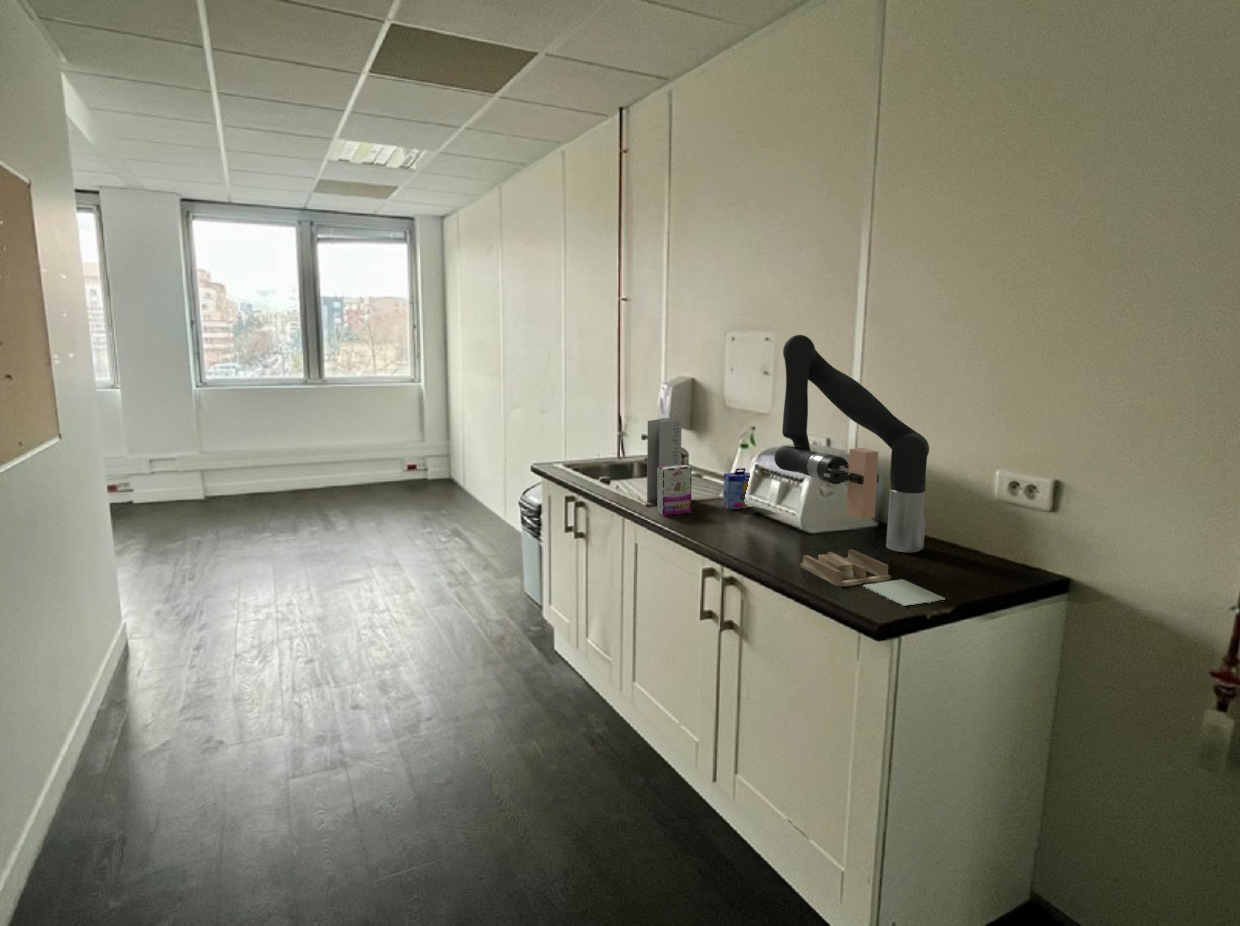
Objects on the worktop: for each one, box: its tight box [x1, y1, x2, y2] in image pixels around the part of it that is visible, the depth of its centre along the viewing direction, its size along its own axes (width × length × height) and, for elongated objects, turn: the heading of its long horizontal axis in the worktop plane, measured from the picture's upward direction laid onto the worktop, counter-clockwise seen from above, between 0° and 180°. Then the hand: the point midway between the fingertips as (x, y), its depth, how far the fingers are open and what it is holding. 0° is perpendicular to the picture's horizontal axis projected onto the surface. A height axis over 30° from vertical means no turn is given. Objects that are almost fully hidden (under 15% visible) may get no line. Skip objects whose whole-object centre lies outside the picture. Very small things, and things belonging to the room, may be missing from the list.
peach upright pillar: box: [846, 447, 879, 520], centre depth 179 cm, size 4×6×17 cm, turn 20°
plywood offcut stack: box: [817, 554, 855, 581], centre depth 180 cm, size 4×11×4 cm, turn 15°
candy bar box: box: [656, 464, 692, 517], centre depth 242 cm, size 11×5×16 cm, turn 114°
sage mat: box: [862, 578, 946, 607], centre depth 167 cm, size 12×14×1 cm
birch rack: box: [799, 549, 892, 588], centre depth 182 cm, size 16×16×4 cm
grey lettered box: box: [646, 417, 683, 503], centre depth 261 cm, size 14×6×30 cm, turn 143°
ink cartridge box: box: [722, 467, 751, 510], centre depth 250 cm, size 10×6×14 cm, turn 104°
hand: (869, 479), depth 176 cm, fingers closed on peach upright pillar, 4 cm apart
